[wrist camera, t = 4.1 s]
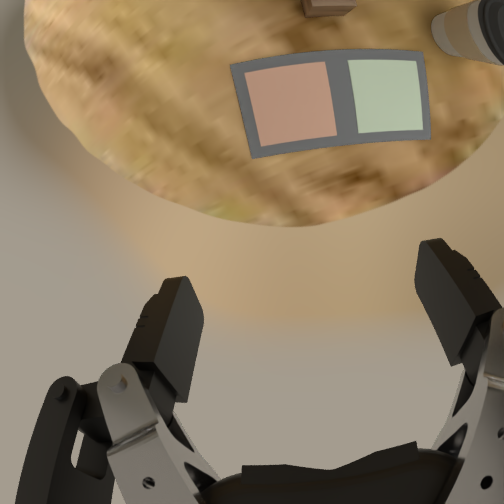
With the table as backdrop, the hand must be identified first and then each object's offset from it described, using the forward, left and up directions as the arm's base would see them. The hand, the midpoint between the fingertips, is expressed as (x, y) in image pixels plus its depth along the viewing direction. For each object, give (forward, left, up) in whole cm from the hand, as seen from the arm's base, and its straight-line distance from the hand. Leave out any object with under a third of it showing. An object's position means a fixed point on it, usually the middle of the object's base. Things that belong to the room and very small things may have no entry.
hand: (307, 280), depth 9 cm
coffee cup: (-13, +28, -30) cm, 43 cm away
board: (-3, +9, -30) cm, 32 cm away
